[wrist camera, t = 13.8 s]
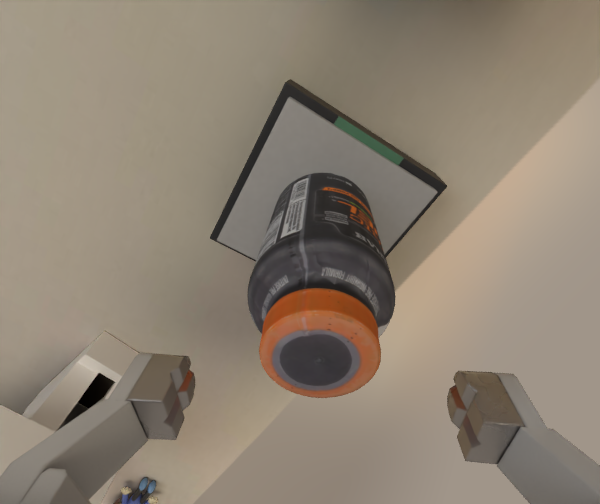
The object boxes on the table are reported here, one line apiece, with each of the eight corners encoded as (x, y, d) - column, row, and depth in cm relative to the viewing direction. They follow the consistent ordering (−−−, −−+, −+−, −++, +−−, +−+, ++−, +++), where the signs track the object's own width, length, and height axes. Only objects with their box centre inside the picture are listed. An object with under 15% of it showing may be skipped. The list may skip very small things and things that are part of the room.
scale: (290, 79, 19) (284, 82, 16) (435, 173, 21) (451, 189, 19) (219, 222, 24) (206, 242, 22) (342, 286, 26) (344, 311, 24)
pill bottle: (389, 223, 20) (450, 378, 10) (315, 272, 22) (308, 437, 13) (329, 147, 18) (336, 253, 8) (254, 210, 20) (189, 351, 10)
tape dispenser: (79, 313, 30) (-179, 580, 15) (189, 384, 34) (79, 648, 19) (19, 375, 36) (-213, 617, 20) (121, 430, 40) (-7, 663, 25)
